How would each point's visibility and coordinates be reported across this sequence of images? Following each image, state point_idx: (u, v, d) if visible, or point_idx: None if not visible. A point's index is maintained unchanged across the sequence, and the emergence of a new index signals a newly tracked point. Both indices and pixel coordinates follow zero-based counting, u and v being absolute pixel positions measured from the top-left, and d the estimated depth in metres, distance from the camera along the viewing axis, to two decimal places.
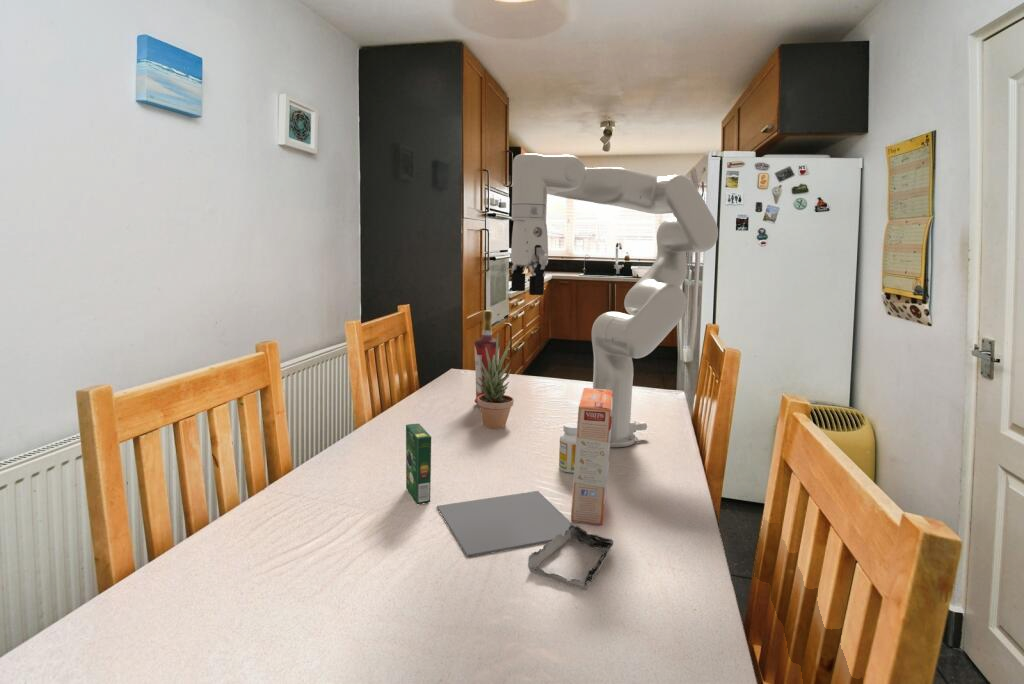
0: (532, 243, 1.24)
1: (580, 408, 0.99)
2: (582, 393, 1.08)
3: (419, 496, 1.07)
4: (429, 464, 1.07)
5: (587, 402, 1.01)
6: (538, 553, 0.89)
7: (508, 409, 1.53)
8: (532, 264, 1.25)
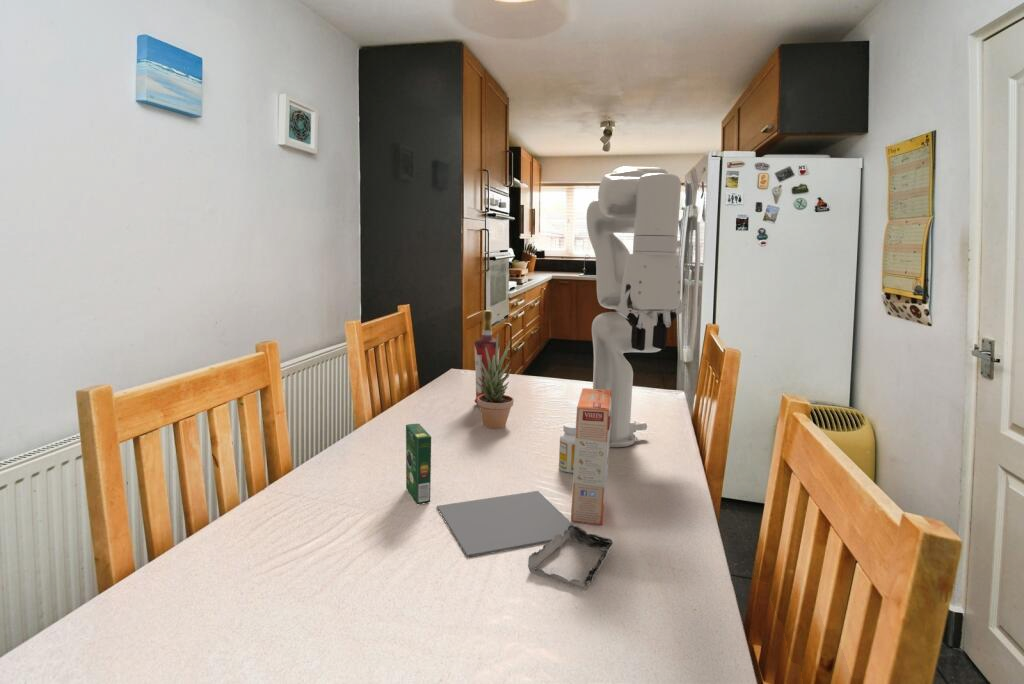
0: None
1: (578, 408, 0.99)
2: None
3: (419, 496, 1.07)
4: (429, 464, 1.07)
5: (585, 402, 1.01)
6: (538, 553, 0.89)
7: (508, 409, 1.53)
8: None
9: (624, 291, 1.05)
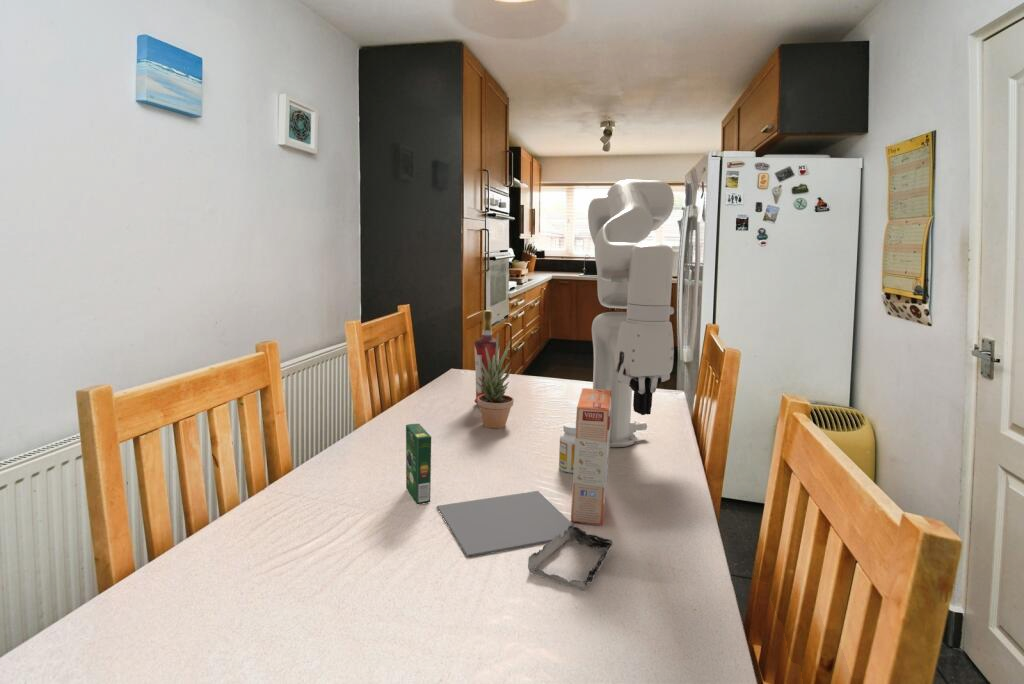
0: None
1: (578, 408, 0.99)
2: None
3: (419, 496, 1.07)
4: (429, 464, 1.07)
5: (585, 402, 1.01)
6: (538, 554, 0.88)
7: (508, 409, 1.53)
8: None
9: (618, 357, 1.06)
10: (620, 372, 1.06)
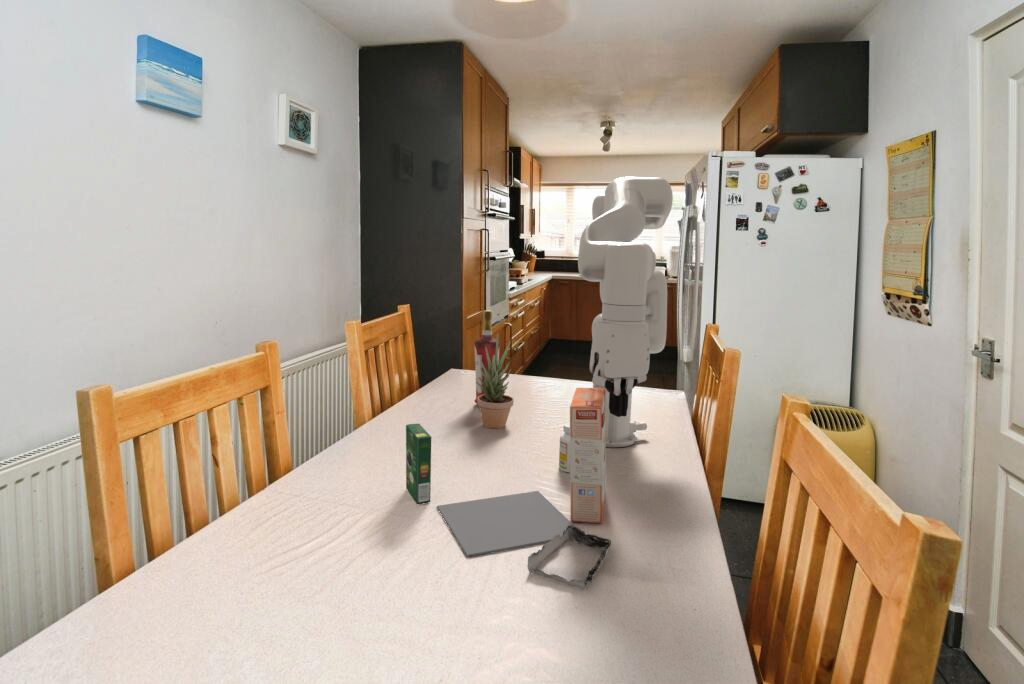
0: None
1: (571, 408, 0.99)
2: (574, 393, 1.08)
3: (419, 496, 1.07)
4: (429, 464, 1.07)
5: (578, 401, 1.01)
6: (537, 553, 0.88)
7: (508, 409, 1.53)
8: None
9: (593, 358, 1.04)
10: (595, 373, 1.04)
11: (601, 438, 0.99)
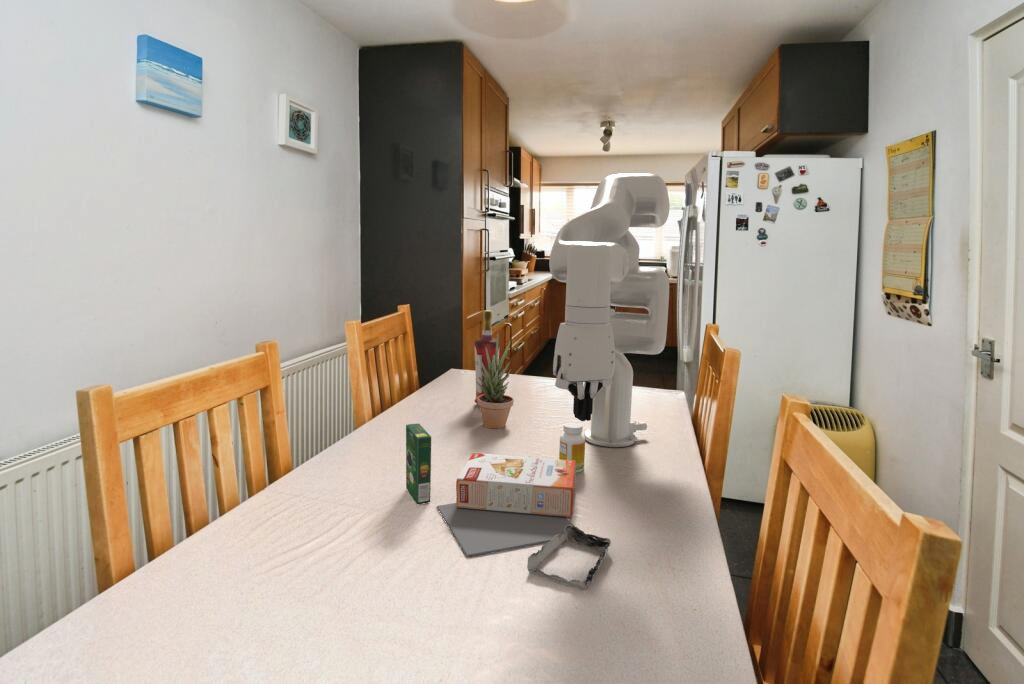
0: None
1: (457, 506, 1.05)
2: None
3: (419, 496, 1.07)
4: (429, 464, 1.07)
5: None
6: (537, 554, 0.88)
7: (508, 409, 1.53)
8: None
9: (556, 361, 1.02)
10: (558, 377, 1.01)
11: (486, 482, 1.04)
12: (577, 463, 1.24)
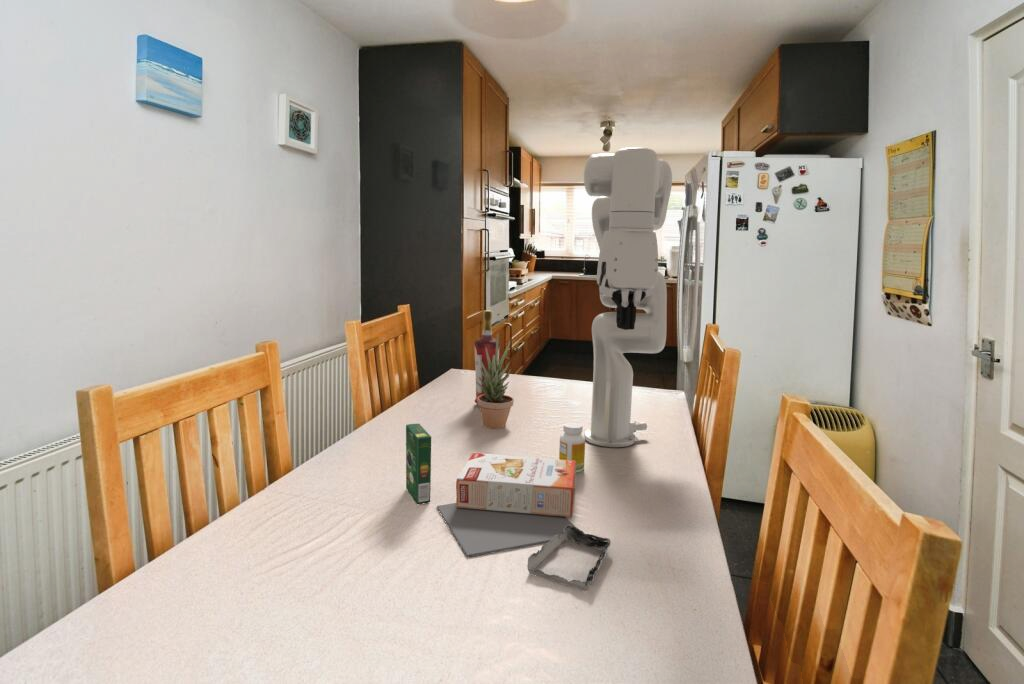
0: None
1: (457, 506, 1.05)
2: None
3: (419, 496, 1.07)
4: (429, 464, 1.07)
5: None
6: (537, 554, 0.88)
7: (508, 409, 1.53)
8: None
9: (600, 269, 1.02)
10: (602, 284, 1.02)
11: (486, 482, 1.04)
12: (577, 463, 1.24)
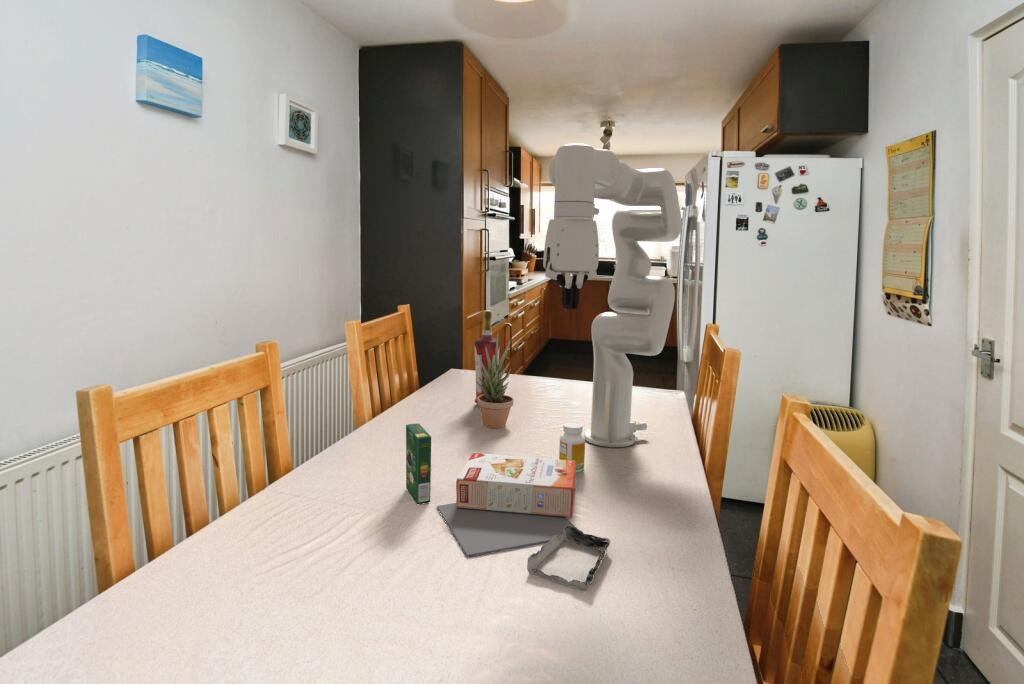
0: None
1: (457, 506, 1.05)
2: None
3: (419, 496, 1.07)
4: (429, 464, 1.07)
5: None
6: (536, 554, 0.88)
7: (508, 409, 1.53)
8: None
9: (545, 254, 1.13)
10: (547, 267, 1.13)
11: (486, 482, 1.04)
12: (577, 463, 1.24)
